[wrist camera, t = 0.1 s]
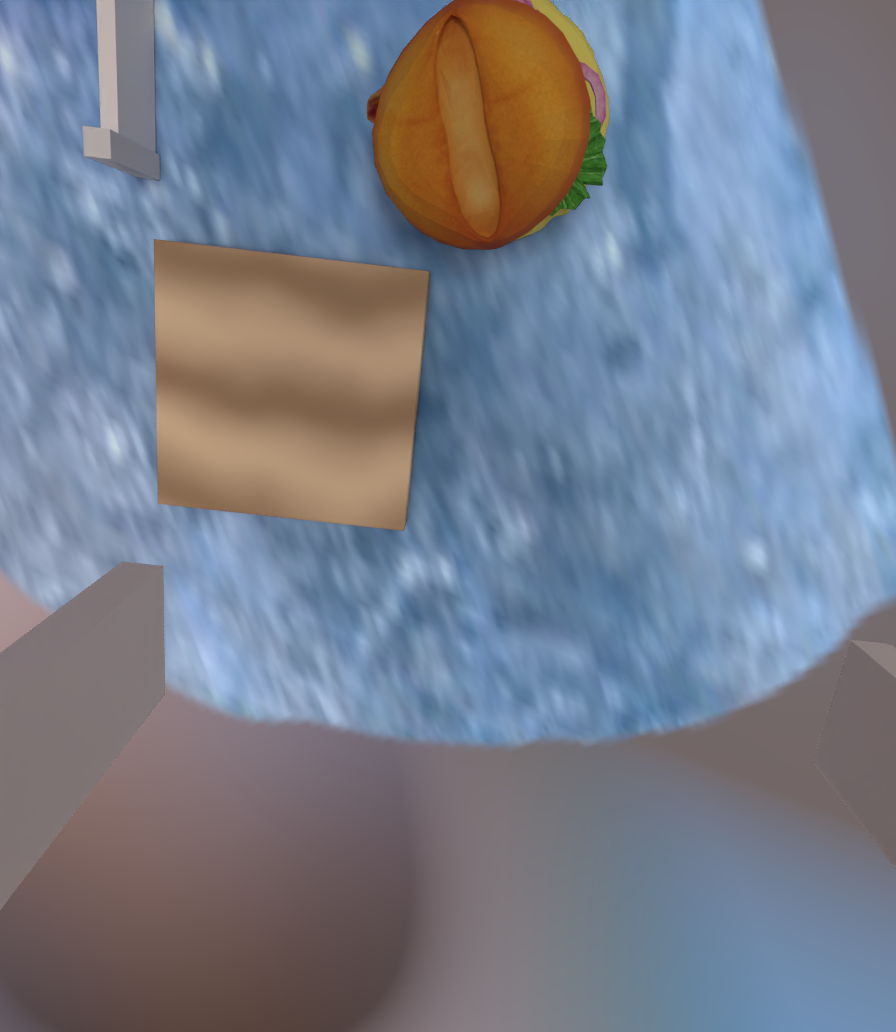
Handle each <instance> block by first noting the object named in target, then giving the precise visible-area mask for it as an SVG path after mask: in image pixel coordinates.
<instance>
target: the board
mask: <svg viewBox="0 0 896 1032" xmlns="http://www.w3.org/2000/svg"><path fill="white" fill-rule="evenodd" d="M154 274H155V340H156V405H157V471H158V504H166V505H175V506H184V507H193V508H202V509H211V510H220V511H229V512H238V513H247V514H256V515H265V516H275V517H284V518H293V519H302V520H311V521H320V522H329V523H338V524H347V525H356V526H365V527H374V528H384V529H393V530H402V531H404V529H405V525H406V521H407V512H408V501H409V491H410V481H411V471H412V460H413V450H414V440H415V430H416V419H417V409H418V399H419V388H420V378H421V368H422V358H423V347H424V337H425V327H426V317H427V306H428V296H429V286H430V275H431V273H430V272H429V271H422V270H414V269H405V268H396V267H388V266H379V265H371V264H362V263H354V262H345V261H337V260H328V259H319V258H311V257H302V256H294V255H285V254H277V253H268V252H259V251H251V250H242V249H234V248H225V247H217V246H208V245H200V244H191V243H182V242H174V241H165V240H157V239H154Z"/></svg>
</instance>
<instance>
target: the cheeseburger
mask: <svg viewBox="0 0 896 1032" xmlns="http://www.w3.org/2000/svg"><path fill="white" fill-rule="evenodd" d="M367 119H368V120H370V121H371V122H372V123H374V126H373V131H372V136H373V150H374V163H375V167H376V169H377V172H378V174H379V177H380V179H381V182H382V184H383V187H384V189H385V192H386V194H387V195H388V196H389V197H390V199H391V200H392V201H393V202H394V204H395V205H396V206H397V208H398V209H399V210H400V211H401V213H402V214H403V215H404V216H405V218H406V219H407V220H408V221H409V222H410V223H411V224H413V225H414V226H415V227H416V228H417V229H418V230H420V231H421V232H422V233H424V234H425V235H427V236H429V237H431V238H432V239H434V240H436V241H438V242H440V243H443V244H447V245H451V246H454V247H458V248H461V249H481V250H487V249H496V248H499V247H502V246H504V245H506V244H508V243H510V242H512V241H514V240H518V239H521V238H524V237H526V236H529V235H531V234H533V233H535V232H537V231H539V230H541V229H542V228H543V227H544V226H545V225H546V224H547V223H548V222H549V221H550V220H551V219H552V218H553V217H556V216H561V215H565V214H567V213H568V212H569V211H570V210H571V209H576V208H577V207H578V206H579V204H580V203H581V202H582V201H583V200H584V199H585V198H590V196H589V194H588V192H587V190H586V186H587V185H603V181H602V177H603V175H604V173H605V170H606V168H607V164H606V161H605V158H604V155H603V152H602V150H603V147H604V143H605V134H606V130H607V127H608V123H609V103H608V95H607V91H606V87H605V83H604V79H603V76H602V73H601V71H600V69H599V67H598V65H597V62H596V60H595V58H594V52H593V50H592V48H591V47H590V45H589V43H588V42H587V40H586V38H585V36H584V34H583V32H582V31H581V30H580V29H579V28H578V27H577V26H576V25H575V24H574V23H573V22H572V21H571V20H570V19H569V18H568V17H567V16H565V15H563V14H562V13H561V12H560V11H559V10H558V9H557V8H556V6H555V5H554V4H553V3H552V2H551V1H550V0H454V1H452V2H451V3H449V4H448V5H447V6H445V7H444V8H443V9H442V10H440V11H439V12H438V13H437V14H436V15H434V16H433V17H432V18H431V19H430V20H428V21H427V22H426V23H425V24H424V25H423V26H422V28H421V29H420V30H419V31H418V32H417V34H416V35H415V36H414V37H413V38H412V40H411V41H410V42H409V43H408V44H407V46H406V47H405V48H404V49H403V51H402V52H401V54H400V56H399V58H398V59H397V61H396V63H395V64H394V66H393V68H392V69H391V71H390V73H389V75H388V78H387V80H386V82H385V84H384V85H383V86H382V87H381V88H380V89H379V90H378V91H377V92H376V93H374V94H373V95H372V96H370V98H369V100H368V103H367Z"/></svg>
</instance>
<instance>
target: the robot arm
mask: <svg viewBox="0 0 896 1032" xmlns="http://www.w3.org/2000/svg"><path fill="white" fill-rule="evenodd" d="M164 695H165V654H164V584H163V566H158V565H149V564H139V563H130V562H121V563H120V564H119V565H117V566H116V567H115V568H113V569H112V570H111V571H109V572H108V573H107V574H105V575H104V576H103V577H101V578H100V579H99V580H97V581H96V582H95V583H93V584H92V585H91V586H89V587H88V588H86V589H85V590H84V591H82V592H81V593H80V594H78V595H77V596H76V597H74V598H73V599H72V600H70V601H69V602H68V603H66V604H65V605H64V606H62V607H61V608H60V609H58V610H57V611H56V612H54V613H53V614H52V615H50V616H49V617H48V618H46V619H45V620H44V621H42V622H41V623H40V624H38V625H37V626H36V627H34V628H33V629H32V630H30V631H29V632H28V633H26V634H25V635H24V636H22V637H21V638H20V639H18V640H17V641H16V642H14V643H13V644H12V645H10V646H9V647H8V648H6V649H5V650H4V651H2V652H1V653H0V909H1V908H2V907H3V905H4V904H5V903H6V901H7V900H8V899H9V898H10V896H11V895H12V893H13V892H14V891H15V890H16V888H17V887H18V886H19V885H20V883H21V882H22V881H23V879H24V878H25V877H26V875H27V874H28V873H29V871H30V870H31V869H32V867H33V866H34V865H35V864H36V862H37V861H38V860H39V858H40V857H41V856H42V854H43V853H44V852H45V851H46V849H47V848H48V847H49V845H50V844H51V843H52V841H53V840H54V839H55V838H56V836H57V835H58V834H59V832H60V831H61V830H62V828H63V827H64V826H65V824H66V823H67V822H68V821H69V819H70V818H71V816H72V815H73V814H74V812H75V811H76V810H77V809H78V807H79V806H80V805H81V803H82V802H83V801H84V800H85V798H86V797H87V796H88V794H89V793H90V792H91V790H92V789H93V788H94V787H95V785H96V784H97V783H98V781H99V780H100V779H101V777H102V776H103V775H104V773H105V772H106V771H107V770H108V768H109V767H110V766H111V764H112V763H113V762H114V760H115V759H116V758H117V757H118V755H119V754H120V752H121V751H122V750H123V749H124V747H125V746H126V745H127V743H128V742H129V741H130V740H131V738H132V737H133V736H134V734H135V733H136V732H137V730H138V729H139V728H140V726H141V725H142V724H143V723H144V721H145V720H146V719H147V717H148V716H149V715H150V713H151V712H152V710H153V709H154V708H155V707H156V706H157V704H158V703H159V702H160V700H161V699H162V698H163V696H164ZM813 763H814V765H815V766H816V767H817V768H818V770H819V771H820V772H821V774H822V775H823V776H824V777H825V779H826V780H827V781H828V782H829V784H830V785H831V786H832V788H833V789H834V790H835V791H836V793H837V794H838V795H839V797H840V798H841V799H842V800H843V801H844V803H845V804H846V805H847V807H848V808H849V809H850V811H851V812H852V813H853V814H854V816H855V817H856V818H857V820H858V821H859V822H860V823H861V825H862V826H863V827H864V828H865V830H866V831H867V832H868V834H869V835H870V836H871V838H872V839H873V840H874V841H875V843H876V844H877V845H878V846H879V848H880V849H881V850H882V852H883V853H884V854H885V855H886V857H887V858H888V859H889V861H890V862H891V863H892V864H893V866H894V867H895V868H896V648H894V647H893V646H892V645H890V644H883V643H873V642H863V641H855V640H851V641H850V644H849V647H848V651H847V654H846V657H845V660H844V664H843V666H842V670H841V673H840V676H839V679H838V682H837V686H836V689H835V692H834V695H833V698H832V701H831V705H830V708H829V711H828V714H827V717H826V721H825V724H824V727H823V730H822V733H821V737H820V739H819V743H818V746H817V749H816V752H815V755H814V759H813Z"/></svg>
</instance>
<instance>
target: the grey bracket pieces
mask: <svg viewBox="0 0 896 1032" xmlns="http://www.w3.org/2000/svg"><path fill="white" fill-rule="evenodd" d="M96 5H97V33H98V62H99V91H100V119H101V128H97V127H88V126H83V145H84V156H86V157H88V158H90V159H93V160H95V161H98V162H100V163H103V164H105V165H107V166H110V167H112V168H115V169H117V170H120V171H122V172H124V173H127V174H129V175H132V176H134V177H137V178H144V179H153V180H160V155H159V154H157V153H156V134H155V63H154V0H96Z"/></svg>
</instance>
